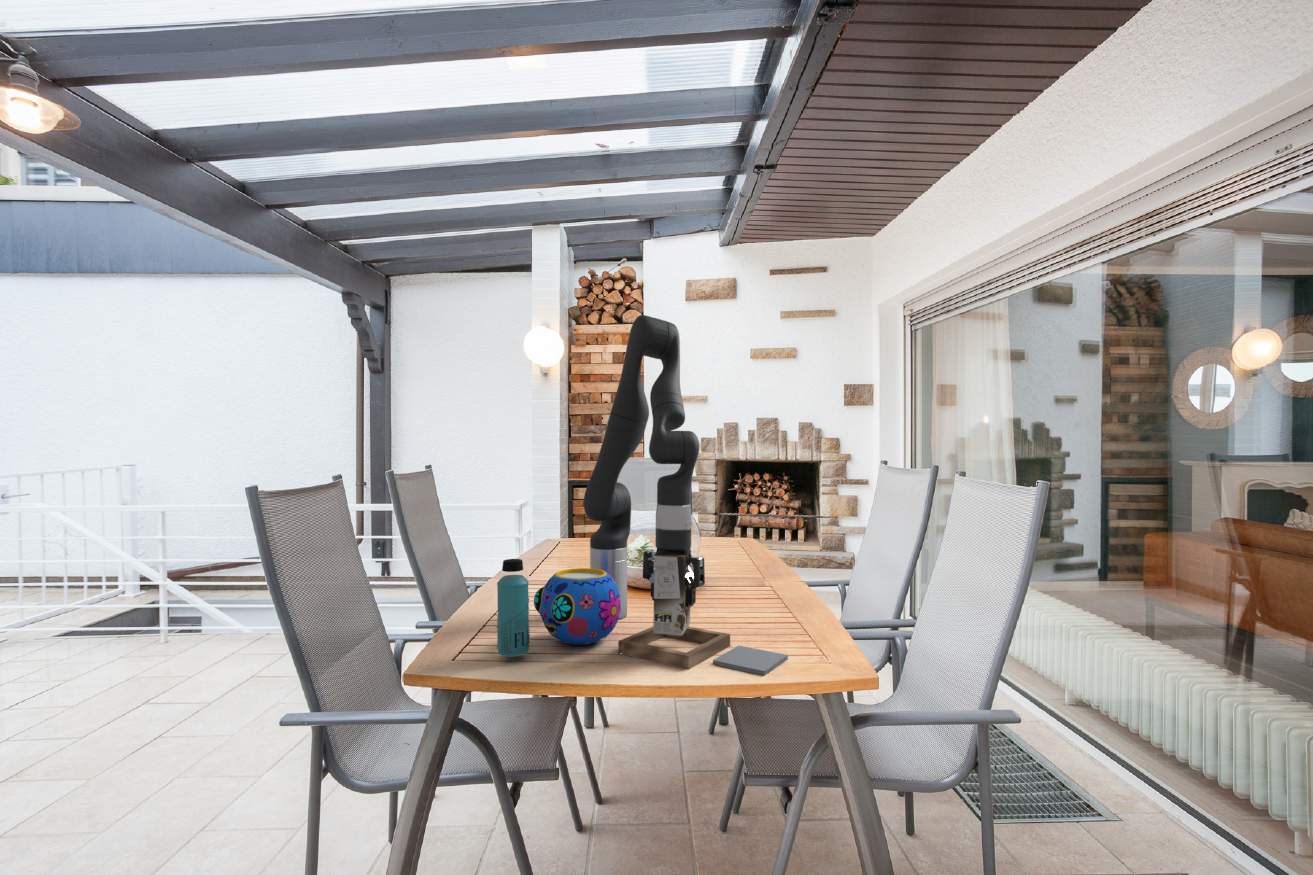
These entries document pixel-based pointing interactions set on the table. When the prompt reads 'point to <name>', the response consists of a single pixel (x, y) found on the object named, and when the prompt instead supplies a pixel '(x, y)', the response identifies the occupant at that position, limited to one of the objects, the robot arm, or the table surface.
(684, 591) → the coffee box
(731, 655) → the slate mat
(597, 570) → the ceramic pot
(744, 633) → the table surface
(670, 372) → the robot arm
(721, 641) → the board
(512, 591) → the beverage bottle
